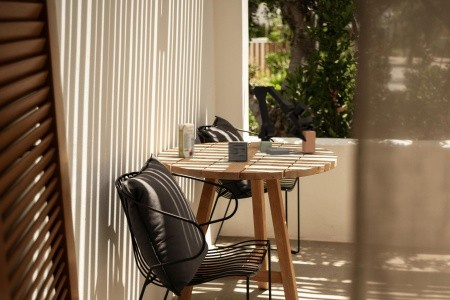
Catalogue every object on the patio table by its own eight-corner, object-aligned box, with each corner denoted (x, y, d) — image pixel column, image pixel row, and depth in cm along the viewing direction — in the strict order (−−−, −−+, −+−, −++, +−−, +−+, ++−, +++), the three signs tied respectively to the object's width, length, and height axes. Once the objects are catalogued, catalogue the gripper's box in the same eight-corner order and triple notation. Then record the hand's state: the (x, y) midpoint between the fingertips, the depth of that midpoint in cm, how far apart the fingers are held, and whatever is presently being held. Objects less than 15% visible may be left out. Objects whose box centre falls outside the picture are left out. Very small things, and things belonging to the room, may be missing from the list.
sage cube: (259, 151, 475) (259, 141, 474) (268, 151, 477) (268, 141, 476) (262, 152, 469) (262, 142, 469) (271, 152, 471) (271, 142, 470)
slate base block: (265, 153, 467) (265, 148, 467) (283, 153, 470) (283, 148, 470) (271, 156, 457) (272, 151, 456) (289, 155, 460) (289, 150, 459)
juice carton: (196, 156, 451) (196, 123, 449) (185, 158, 445) (185, 124, 443) (187, 155, 457) (186, 122, 454) (176, 156, 450) (176, 124, 448)
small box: (247, 160, 437) (248, 141, 436) (247, 162, 431) (247, 143, 429) (229, 160, 438) (229, 141, 437) (227, 161, 432) (227, 142, 430)
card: (290, 150, 479) (290, 149, 479) (303, 149, 481) (303, 149, 481) (295, 151, 472) (295, 151, 472) (307, 151, 474) (307, 150, 474)
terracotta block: (301, 151, 466) (302, 131, 465) (311, 150, 468) (311, 130, 466) (305, 152, 461) (306, 132, 459) (315, 152, 462) (315, 131, 461)
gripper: (294, 112, 457) (308, 133, 451) (313, 110, 471) (328, 130, 464) (283, 125, 464) (297, 145, 458) (303, 123, 477) (317, 142, 471)
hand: (310, 140), depth 462 cm, fingers closed on terracotta block, 8 cm apart
